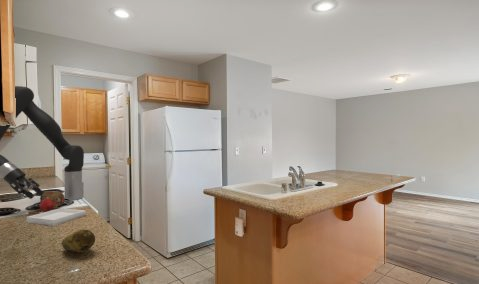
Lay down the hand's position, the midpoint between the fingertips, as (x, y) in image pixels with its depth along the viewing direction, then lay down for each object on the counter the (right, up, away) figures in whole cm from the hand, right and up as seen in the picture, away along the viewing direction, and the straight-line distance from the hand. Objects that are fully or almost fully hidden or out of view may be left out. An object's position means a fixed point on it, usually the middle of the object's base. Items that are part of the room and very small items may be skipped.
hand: (37, 195), depth 131 cm
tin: (-3, -9, +15) cm, 18 cm away
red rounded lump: (+4, -9, +1) cm, 10 cm away
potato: (+49, -9, -46) cm, 68 cm away
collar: (+4, -9, +1) cm, 10 cm away
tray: (+16, -9, -9) cm, 21 cm away
